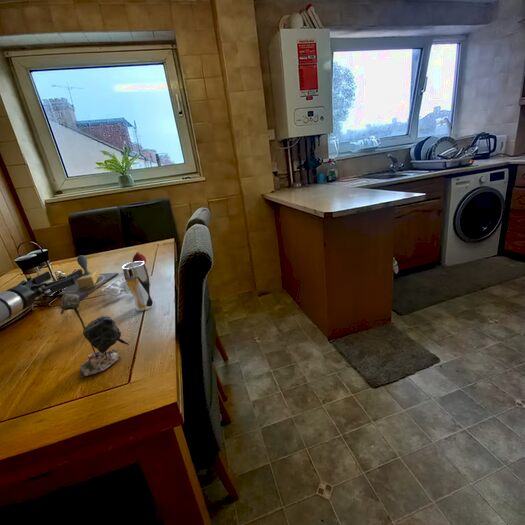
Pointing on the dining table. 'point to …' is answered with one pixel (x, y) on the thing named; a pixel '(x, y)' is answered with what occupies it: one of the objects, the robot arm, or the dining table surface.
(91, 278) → the rubber stamp
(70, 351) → the dining table surface
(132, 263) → the beer glass
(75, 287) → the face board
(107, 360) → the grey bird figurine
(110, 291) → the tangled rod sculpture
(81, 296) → the ink pad
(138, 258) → the onion
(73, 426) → the dining table surface
